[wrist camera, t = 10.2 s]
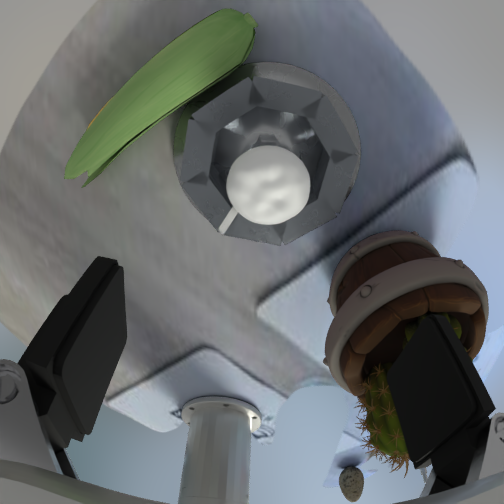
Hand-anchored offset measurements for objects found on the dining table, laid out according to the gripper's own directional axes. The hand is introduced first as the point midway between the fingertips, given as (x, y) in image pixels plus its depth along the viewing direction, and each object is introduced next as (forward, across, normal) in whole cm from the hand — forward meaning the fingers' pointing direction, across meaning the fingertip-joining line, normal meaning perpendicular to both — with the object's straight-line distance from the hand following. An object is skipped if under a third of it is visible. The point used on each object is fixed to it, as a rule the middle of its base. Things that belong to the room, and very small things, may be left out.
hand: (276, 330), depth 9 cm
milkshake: (+18, 0, -1) cm, 18 cm away
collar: (+19, 0, -1) cm, 19 cm away
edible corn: (+19, +10, -4) cm, 22 cm away
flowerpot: (+19, -14, +8) cm, 25 cm away
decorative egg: (+21, -36, +63) cm, 75 cm away
